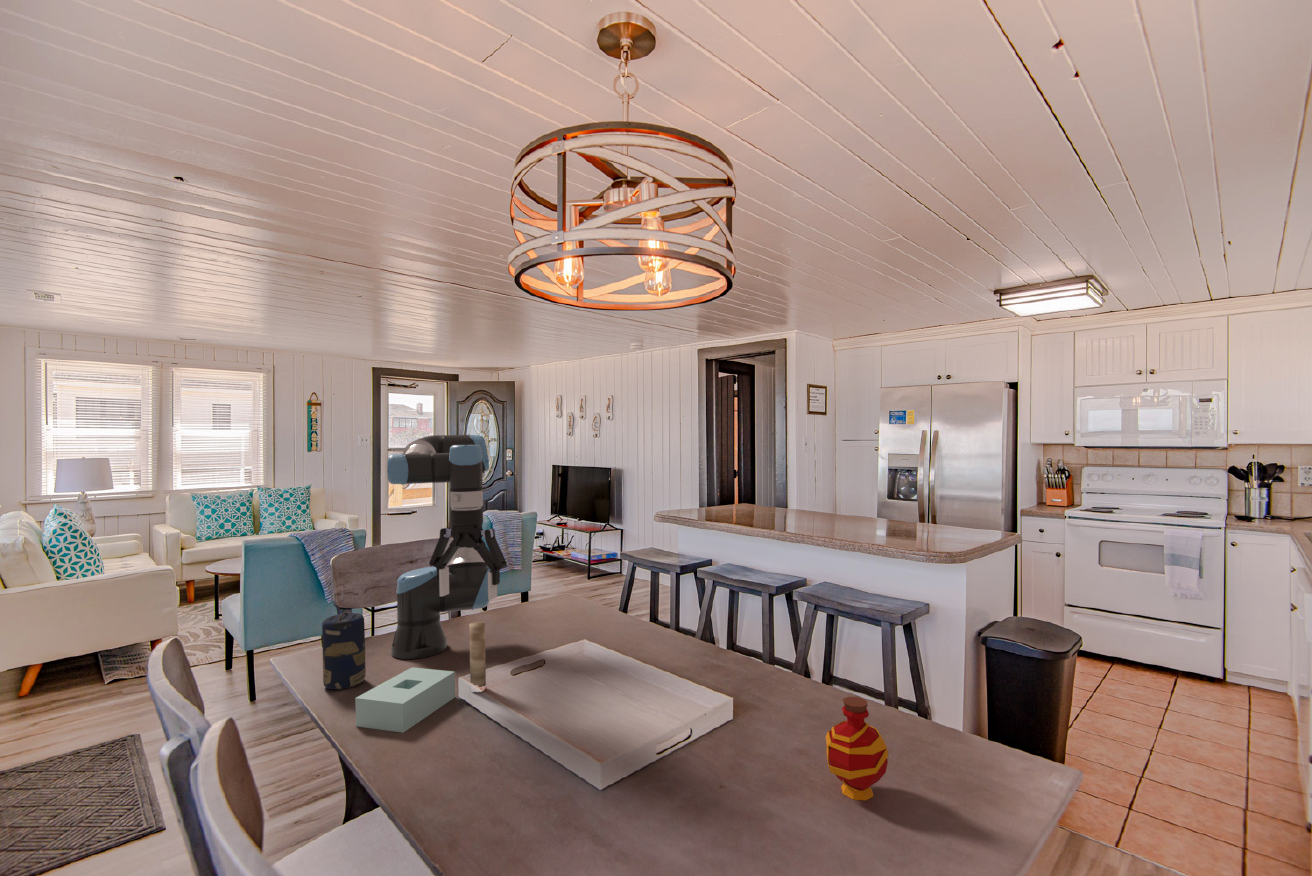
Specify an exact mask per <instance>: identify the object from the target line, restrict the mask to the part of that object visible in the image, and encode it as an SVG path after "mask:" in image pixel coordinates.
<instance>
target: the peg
mask: <svg viewBox="0 0 1312 876" xmlns="http://www.w3.org/2000/svg"><path fill="white" fill-rule="evenodd" d="M468 627H469V674H470V675H469V677H470V679H469V680H470V682H471V683H473V684H474V685H478V686H479V687H482V686H485V685H486V686H487V681H486V680H487V678H486V677H487V676H486V675H487V674H486V673H487V670H486V669H487V668H486V623H485V622H484V621H474V622H471V623H469V625H468Z"/></svg>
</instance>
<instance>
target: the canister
mask: <svg viewBox="0 0 1312 876" xmlns="http://www.w3.org/2000/svg"><path fill="white" fill-rule="evenodd" d="M365 627H366V625H365V617H364V616H363V614H361V613H357V612H355V613H354V612H346V611H345V612H342V613H339V614H334V615H331V616H329V617H327V618H325V619H324V620H323V621H322V623H321V632H322V634H321V636H322V639H321V640H322V681H323V686H324V687H325V688H326V689H329V690H343V689H349V688H352V687H355V686H357V685H359V684H361V683H362V682H363V681H364V680H365V679H366V676H367V675H366V673H367V672H366V671H367V670H366V638H365V637H366V634H365V630H366V629H365Z"/></svg>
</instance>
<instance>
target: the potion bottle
mask: <svg viewBox="0 0 1312 876" xmlns="http://www.w3.org/2000/svg"><path fill="white" fill-rule="evenodd" d="M842 702H843V704H844V705H843V706H842V707H841V710H842V714H843V716H844V717H846V720H842V721H840V722H838V723H836V724H835V725H834V726H832V727H831V729H830V730H828V731H827V733H826V735H825V742H826V760H827V766H828V769H829V773H830V774H833V775H834V776H835V777H836V778H837V779H838V780H840V781H841V783H842V785H841V786H840V788H841V793H842V795H844V796H846V797H848V798H849V799H852V800H856V801H869V800H870V799H872V798H873V797H874V793H873V790H872V788H871V787H872V786H873V785H875V784H876V783H878V782H879V781H880V780H881V779H882V778H883V777H884V775H885V774H886V773H887V766H888V762H889V760H888V757H889V752H888V751H889V750H888V748H887V745H886V742H885V740H884V738H883V736H882V735H881V733H880V732H879V731H878V729H877V728H876V727H874V726H871V725H870V724H868V723H867V722H865V719H867V718H869V716H870V713H869V710H868V701H867V700H866V699H864V698H861V697H859V696H847V697H844V698H842Z"/></svg>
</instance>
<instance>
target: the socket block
mask: <svg viewBox="0 0 1312 876" xmlns="http://www.w3.org/2000/svg"><path fill="white" fill-rule="evenodd" d="M455 698H456V671H453V670H442V669H433V668H422V667H409V668H408V669H407V670H404V671H402V672H400V673H398V674H397V675H395V676H394V677H392V678H389V679H388V680H386V681H384V682H381V684H379V685H377V686H374V687H372V688H371V689H369V690H368V691H365V692H364V693H362V694H360V695H359V696H357V697H355V699H354V700H355V701H354V702H355V727H357V728H367V729H374V730H380V731H386V732H387V731H388V732H395V733H396V732H397V733H402V734H403V733H406V731H408V730H409V729H411V728H413V726H415V725H417V724H418V723H419V722H421V721H423V720H424V719H426V718H427V717H428V716H430V715H431V714H432V713H434V712H436V711H438V709H441V708H442V707H443V706H445V705H446V704H447V703H449V702H451V701H452V700H453V699H455Z"/></svg>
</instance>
